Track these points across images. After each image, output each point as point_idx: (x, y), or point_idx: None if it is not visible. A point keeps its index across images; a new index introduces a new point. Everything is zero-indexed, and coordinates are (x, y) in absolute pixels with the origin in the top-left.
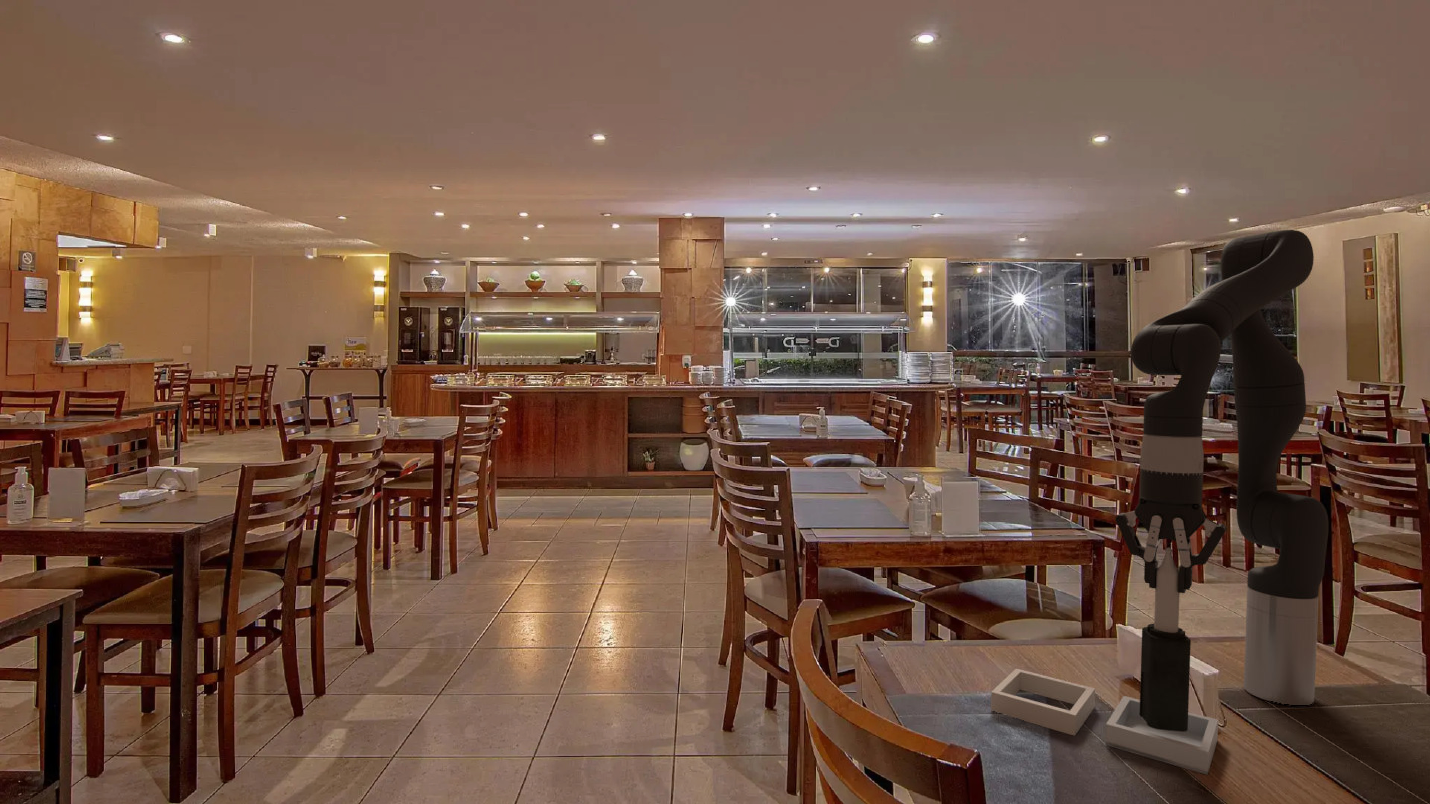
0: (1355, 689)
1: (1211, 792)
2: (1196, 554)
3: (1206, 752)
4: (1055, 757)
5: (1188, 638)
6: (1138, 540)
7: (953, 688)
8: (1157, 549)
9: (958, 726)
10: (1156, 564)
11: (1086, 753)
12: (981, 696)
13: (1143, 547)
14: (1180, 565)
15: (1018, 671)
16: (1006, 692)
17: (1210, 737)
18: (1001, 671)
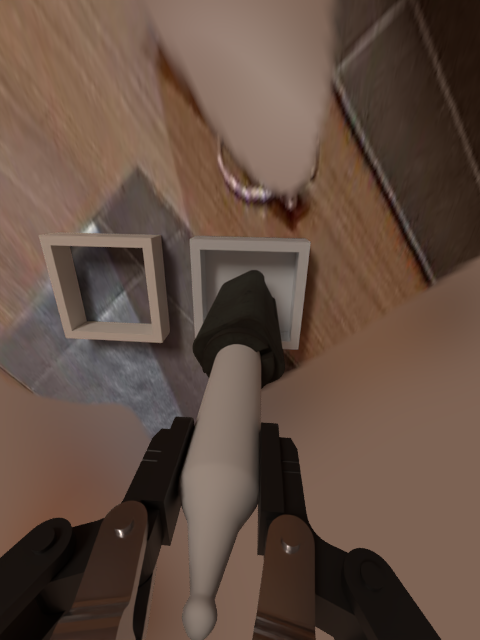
0: None
1: (298, 367)
2: (337, 612)
3: (296, 349)
4: (171, 383)
5: (280, 364)
6: (12, 618)
7: (16, 293)
8: (139, 575)
9: (80, 377)
10: (170, 514)
11: (191, 360)
12: (51, 294)
13: (73, 580)
14: (260, 537)
15: (47, 245)
16: (72, 303)
17: (300, 308)
18: (13, 184)
